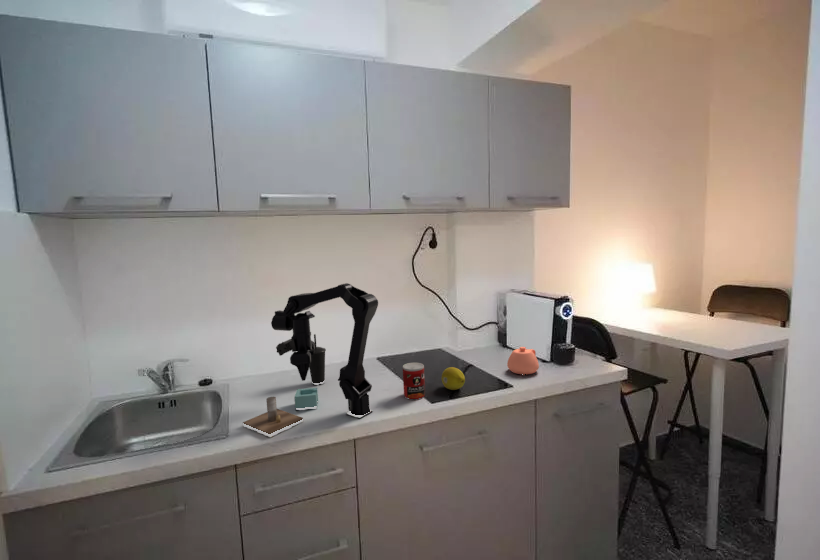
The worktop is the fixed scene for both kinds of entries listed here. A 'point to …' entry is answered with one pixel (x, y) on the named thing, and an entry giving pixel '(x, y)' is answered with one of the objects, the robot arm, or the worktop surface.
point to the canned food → (413, 380)
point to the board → (272, 425)
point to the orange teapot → (523, 361)
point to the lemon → (453, 378)
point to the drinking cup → (317, 364)
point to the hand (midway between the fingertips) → (305, 375)
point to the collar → (306, 397)
